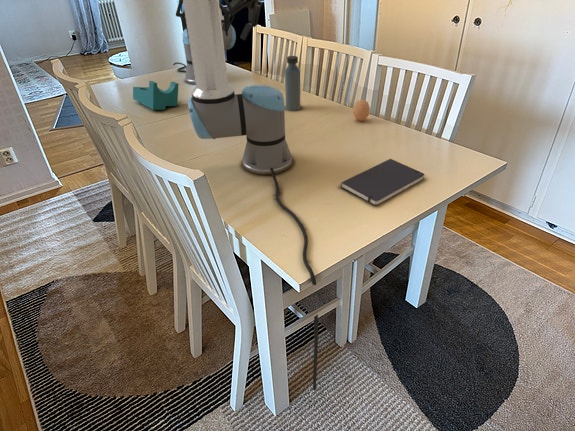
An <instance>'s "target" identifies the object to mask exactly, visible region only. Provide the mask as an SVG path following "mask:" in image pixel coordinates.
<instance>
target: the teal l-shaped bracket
mask: <svg viewBox="0 0 575 431" xmlns="http://www.w3.org/2000/svg"><path fill="white" fill-rule="evenodd" d="M132 100H134V101H136V102H138V103H140V104H142V105H144V106H145V107H147V108H148V109H151V110H153V111H155V110H157V111H159V110H160V111H163V110H164V111H165V110H166V107H178V100H179V83H178V82H176V81H170V85H169V87H168V88H167V89H166V90H163V89H162V88H159V87H158V82H156V81H154V80H149V81H148V86H132Z"/></svg>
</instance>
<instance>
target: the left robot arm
mask: <svg viewBox="0 0 575 431" xmlns="http://www.w3.org/2000/svg"><path fill="white" fill-rule="evenodd" d="M229 3H230V5H231V7H232V8H233V10H234V13H232V14H230V15H229V19H230V25H227V31H228V36H226V34H225V25H224V15H223V12H222V10H221V9H220V16H221V25H222V34H223V43H224V52H226V51H229V50H230V49H232V48H233V47H234V46H235V43H236V40H237V36H236V30H235V28H234V26H233V25H232V24H233V21H234V19H235V15H236V14H238V13H239V12H240V11H241V10H242V9H245V8H247V9H248V20H247V22H246V24H245V26H244V28H243V30H242V32H241V34H240V36H239V38H240V39H241V40H242V41H244V42H246V41H247V38H248V36H249V35H250V33H251V31H252V29H253V28H256V27H257V26H258V23H259V18H260V12H261V9H262V6H263V2H262V1H260V0H231V1H230V2H229ZM225 9H226V10H227V11H228V10H229V9H228V7H227V6H226V7H225ZM181 35H182V44H183V49H184V55H185V61H186V64H185V63H183V62H177V61H176V62H174V63H173V64H172V66H175V65H180V66H182V67H179V68H177V71H178V72H180V73H185V76H184V79H185V82H186V83H188V84H190V85H196V82H195V75H194V69H193V62H192V56H191V49H190V43H189V38H188V35H187V28H184V30H183V31H182V34H181ZM183 69H186V70H183Z"/></svg>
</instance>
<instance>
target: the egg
mask: <svg viewBox="0 0 575 431" xmlns="http://www.w3.org/2000/svg"><path fill="white" fill-rule="evenodd" d="M352 112H353V113H352V115H353V117H354V118H355V120H357V121H360V122H362V121H365V120H367V119H368V118H369V116H370V112H371V108H370V105H369V102H368V101H367V100H366V99H359V100H357V101H356V102H355V104H354V106H353V111H352Z"/></svg>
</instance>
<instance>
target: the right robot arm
mask: <svg viewBox="0 0 575 431" xmlns="http://www.w3.org/2000/svg"><path fill="white" fill-rule="evenodd" d="M223 1H224V3H225V5H226V7H228V9H229V10H228V11H227V10H226V7H225V6H224V5H223V4H222V3H221V2H220V0H179V1H178V5H177V7H176V12H175V17H178V18H180V19H181V22H182V27H183V29H187V35H188V38H189V43H190V49H191V56H192V62H193V69H194V75H195V82H196V84H195V87H194V88H193V89H192V90H191V97H189V98H188V99H187V107H188V111H189V116H190V120H191V124H192V127H193V130H194V132H195V134H196V135H197V137H198V138H199V139H201V140H211V139H212V140H216V139H223V138H235V137H242V136H246V137H245V138H246V143H245V146H244V151H243V155H242V166H243V168H244V170H246V171H247V172H249V173H252V174H254V175H255V174H256V175H262V176H269V175H271V176H272V179H273V182H274V186H275V200H276V202H277V204H278V206H279V207H280V208H281V209H282V210H284V211H285V212H286V213H287V214H289V215H290V216H291V217H292V218H293V219H294V220H295V222H296V223H297V224H298V226H299V228H300V230H301V232H302V235H303V247H302V248H303V249H302V261H303V264H304V266H305V268H306V270H307V271H308V273H309V276H310V279H311V284H312V285H313V286H316V285H317V280H316V275H315V273H314V271H313V269H312V267H311V265H310V264H309V261H308V256H307V252H308V251H307V250H308V242H309V238H308V233H307V231H306V229H305V226H304V225H303V223H302V222H301V220H300V219H299V218H298V217H297V215H296V214H295V213H294V212H293V211H292V210H290V209H289V208H288V207H287V206H285V204H283V203H282V201H281V200H280V186H279V182H278V180H277V177H276V175H277V174H280V173H283V172H286V171H287V170H289V169H290V167H291V166H292V163H293V157H292V153H291V150H290V148H289V145H288V143H287V140H286V118H285V117H286V115H285V114H286V112H285V110H286V105H285V98H284V95H283V93H282V92H281V91H280V90H279V89H277V88H275V87H272V86H268V85H261V84H252V85H248V86H244V87H243V88H242V90H241V93H235V88H234V86H232V85H231V84H230V83H229V80H228V71H227V63H226V62H227V61H226V54H225V53H226V51H224V43H223V34H222V25H221V16H220V9H221V12H222V13H223V17H224V25H225V34H226V36H228V31H227V25H230V19H229V15H230V14H232V13H234V10H233V8H232V7H231V5H230V3H231V2H230V1H229V0H223ZM182 7H183V11H182ZM181 11H182V12H181ZM313 327H314V328H313V329H314V330H313V331H314V334H313V337H314V338H313V368H312V370H313V373H312V390H313V391H317V378H318V377H317V376H318V374H317V372H318V352H319V351H318V350H319V314H318V313H317V314H316V315H315V316H313Z"/></svg>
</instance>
